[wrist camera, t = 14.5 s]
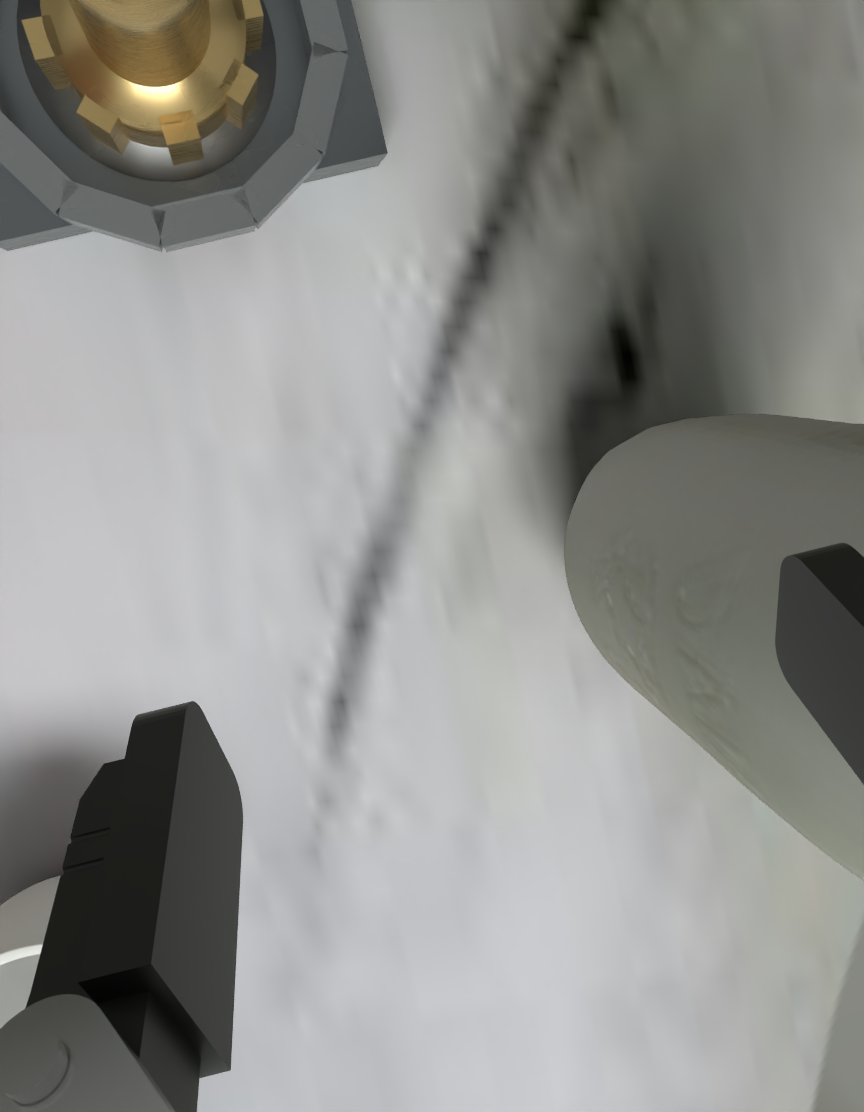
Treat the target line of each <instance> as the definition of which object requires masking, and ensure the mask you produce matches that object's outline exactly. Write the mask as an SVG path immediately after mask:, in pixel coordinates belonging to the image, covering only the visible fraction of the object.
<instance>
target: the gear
mask: <svg viewBox="0 0 864 1112" xmlns="http://www.w3.org/2000/svg"><path fill="white" fill-rule="evenodd" d="M40 9H41V15H42V16H41V17H35V18H30V19H25V20H21V21H22V23H23V26H24V29H25V32H26V35H27V38H28V41H29V44H30V47H31V49H32V52H33V55H34V58H35V61H36V62H37V64H38V65H39V66H40V68H41V69H42V71H43V72H44V74H45V75H46V77H47V78H48V80H49V81H50V83H51V84H52V86H53V87H54V89H55V90H60V89H65V88H70V87H74V89H75V91H76V92H77V94H78V96H79V97H80V98H81V100H82V102H81V104H80V106H79V108H78V110H77V112H76V113H77V114H78V116H79V117H80V119H81V120H82V122H83V123H84V125H85V126H86V128H87V129H88V131H89V132H90V134H91V136H92V137H94V138H95V139H97V140H98V141H100V142H101V143H103V144H105V145H106V146H108V147H109V148H111V149H113V150H114V151H116V152H117V153H119V154H121V155H123V153H124V151H125V149H126V147H127V145H128V143H129V141H130V140H131V141H134V142H136V143H139V144H143V145H147V146H152V147H159V148H168V150H169V153H170V156H171V159H172V162H173V165H174V166H175V165H179V164H184V163H188V162H193V161H197V160H202V159H204V157H203V151H202V144H201V140H202V139H204V138H206V137H207V136H209V135H210V134H212V133H213V132H215V131H216V130H217V129H218V128H219V127H220V126H221V125H222V124H223V123H224V122H225V121H226V120H228V121H229V122H231V123H232V124H234V125H235V126H237V127H238V128H240V129H241V130H242V128H243V126H244V124H245V123H246V121H247V119H248V117H249V115H250V113H251V111H252V109H253V107H254V105H255V103H256V98H257V87H258V76H259V75H258V74H257V73H255V72H254V71H253V70H251V69H250V68H248V67H247V66H245V52H249V51H254V50H259V49H261V41H262V30H263V19H264V15H263V11H262V7H261V3H260V0H40Z"/></svg>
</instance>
